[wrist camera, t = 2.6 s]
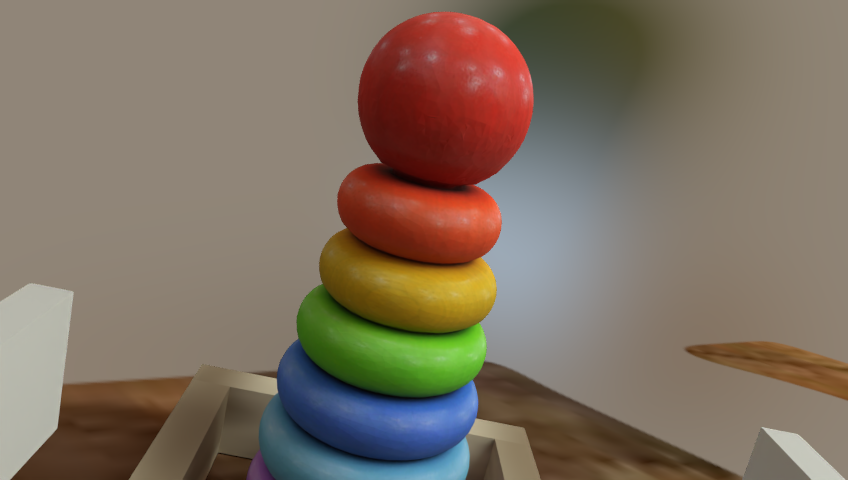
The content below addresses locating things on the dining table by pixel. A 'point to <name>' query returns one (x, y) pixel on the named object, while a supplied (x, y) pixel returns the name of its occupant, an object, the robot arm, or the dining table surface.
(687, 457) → the dining table surface
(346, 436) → the stacking toy
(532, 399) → the dining table surface
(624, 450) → the dining table surface
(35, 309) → the robot arm
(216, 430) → the birch holder
